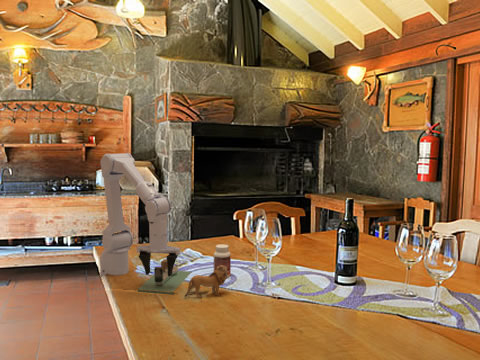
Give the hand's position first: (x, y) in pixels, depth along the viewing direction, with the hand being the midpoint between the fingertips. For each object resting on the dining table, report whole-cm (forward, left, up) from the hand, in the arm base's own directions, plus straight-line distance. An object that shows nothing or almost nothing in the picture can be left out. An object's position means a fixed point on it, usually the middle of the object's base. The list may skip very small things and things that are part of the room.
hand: (158, 274), depth 145 cm
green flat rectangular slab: (0, +6, -5) cm, 8 cm away
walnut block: (-3, +15, -4) cm, 16 cm away
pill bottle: (+17, +18, -5) cm, 25 cm away
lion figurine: (+17, -2, -5) cm, 18 cm away
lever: (0, +8, -4) cm, 8 cm away
